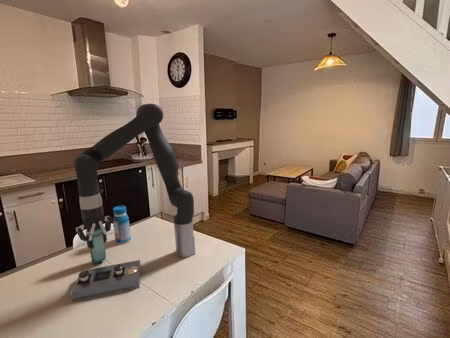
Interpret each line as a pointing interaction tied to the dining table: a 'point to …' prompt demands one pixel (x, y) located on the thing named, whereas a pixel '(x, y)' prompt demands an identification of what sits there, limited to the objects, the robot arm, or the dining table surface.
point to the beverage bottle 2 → (121, 225)
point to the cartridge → (98, 245)
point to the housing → (107, 281)
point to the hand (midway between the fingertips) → (97, 245)
